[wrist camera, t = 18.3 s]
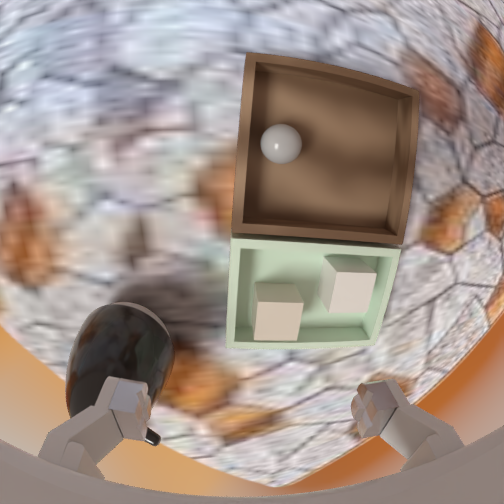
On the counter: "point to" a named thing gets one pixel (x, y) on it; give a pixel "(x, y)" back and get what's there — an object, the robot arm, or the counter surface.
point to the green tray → (304, 288)
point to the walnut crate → (325, 152)
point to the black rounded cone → (119, 355)
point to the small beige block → (346, 285)
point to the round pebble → (281, 143)
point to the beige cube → (276, 311)
